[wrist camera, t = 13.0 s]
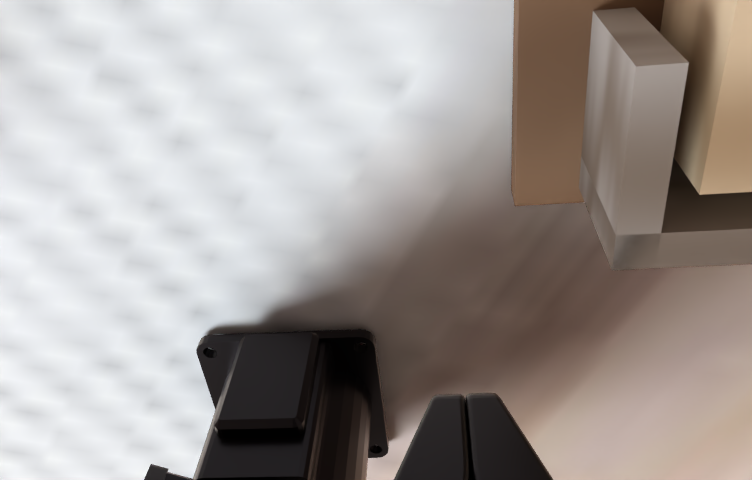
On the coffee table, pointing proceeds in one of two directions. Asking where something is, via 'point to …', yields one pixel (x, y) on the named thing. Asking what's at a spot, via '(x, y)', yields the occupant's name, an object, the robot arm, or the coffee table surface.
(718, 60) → the birch slat
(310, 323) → the coffee table surface
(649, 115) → the end cap base
